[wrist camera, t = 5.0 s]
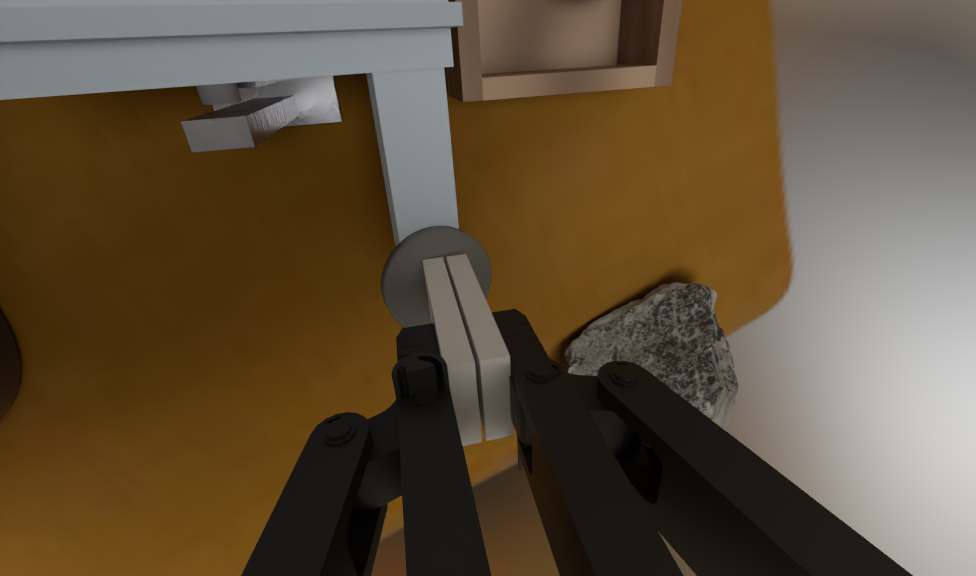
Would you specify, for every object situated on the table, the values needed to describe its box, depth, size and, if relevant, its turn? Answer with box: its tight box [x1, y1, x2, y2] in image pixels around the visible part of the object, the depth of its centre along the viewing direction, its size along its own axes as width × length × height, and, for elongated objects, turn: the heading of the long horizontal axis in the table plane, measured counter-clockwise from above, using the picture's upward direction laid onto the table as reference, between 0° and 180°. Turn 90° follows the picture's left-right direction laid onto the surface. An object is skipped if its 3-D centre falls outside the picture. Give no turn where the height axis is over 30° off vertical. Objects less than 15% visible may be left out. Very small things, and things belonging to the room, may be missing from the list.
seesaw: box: [0, 0, 491, 328], centre depth 12 cm, size 15×18×3 cm
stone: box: [564, 282, 738, 430], centre depth 27 cm, size 10×10×10 cm
